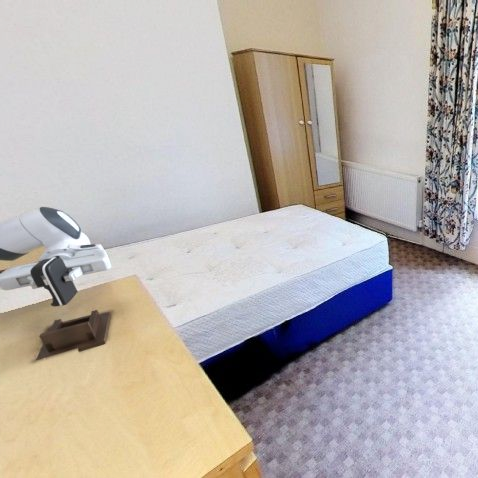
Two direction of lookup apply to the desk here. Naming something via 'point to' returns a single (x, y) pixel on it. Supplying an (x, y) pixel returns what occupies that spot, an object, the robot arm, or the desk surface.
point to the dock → (75, 334)
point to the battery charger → (54, 280)
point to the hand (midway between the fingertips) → (52, 282)
